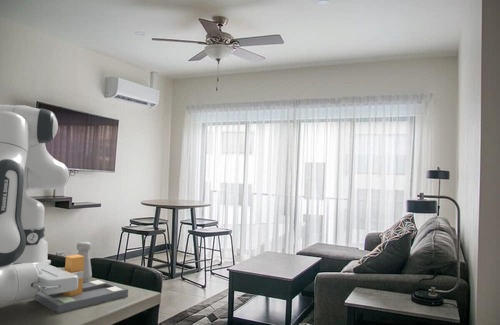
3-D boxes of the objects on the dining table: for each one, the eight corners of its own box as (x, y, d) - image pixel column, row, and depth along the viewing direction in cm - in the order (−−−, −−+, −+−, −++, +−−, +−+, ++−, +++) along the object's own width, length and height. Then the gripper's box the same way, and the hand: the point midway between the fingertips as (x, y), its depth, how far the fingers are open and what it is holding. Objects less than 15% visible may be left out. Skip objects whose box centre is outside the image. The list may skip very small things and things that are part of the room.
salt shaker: (83, 286, 118) (86, 244, 119) (67, 284, 119) (70, 242, 120) (94, 281, 124) (97, 241, 124) (79, 279, 125) (81, 240, 126)
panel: (34, 299, 104) (34, 291, 104) (101, 285, 120) (102, 278, 120) (58, 313, 95) (58, 304, 95) (127, 296, 111) (128, 288, 111)
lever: (63, 296, 105) (65, 256, 105) (75, 293, 108) (78, 254, 108) (69, 299, 103) (72, 258, 103) (81, 296, 105) (84, 256, 106)
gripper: (43, 276, 89) (98, 267, 100) (9, 261, 102) (61, 255, 113) (41, 304, 89) (96, 292, 100) (7, 285, 101) (59, 276, 112)
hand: (77, 272), depth 106 cm, fingers closed on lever, 3 cm apart
